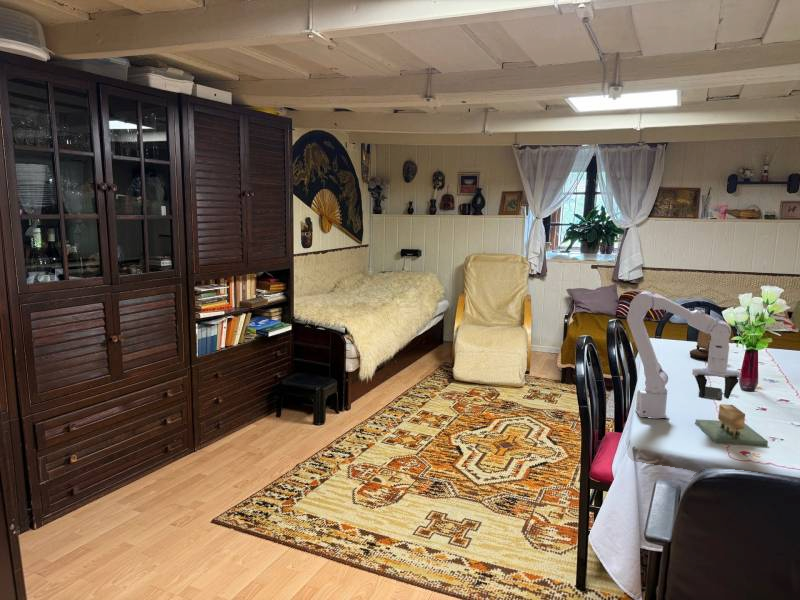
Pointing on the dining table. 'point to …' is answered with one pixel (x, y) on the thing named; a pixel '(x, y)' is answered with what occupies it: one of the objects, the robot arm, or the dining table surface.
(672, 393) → the dining table surface
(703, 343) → the brown wooden ornament
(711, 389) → the phone
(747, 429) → the green slab
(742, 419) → the oak block
